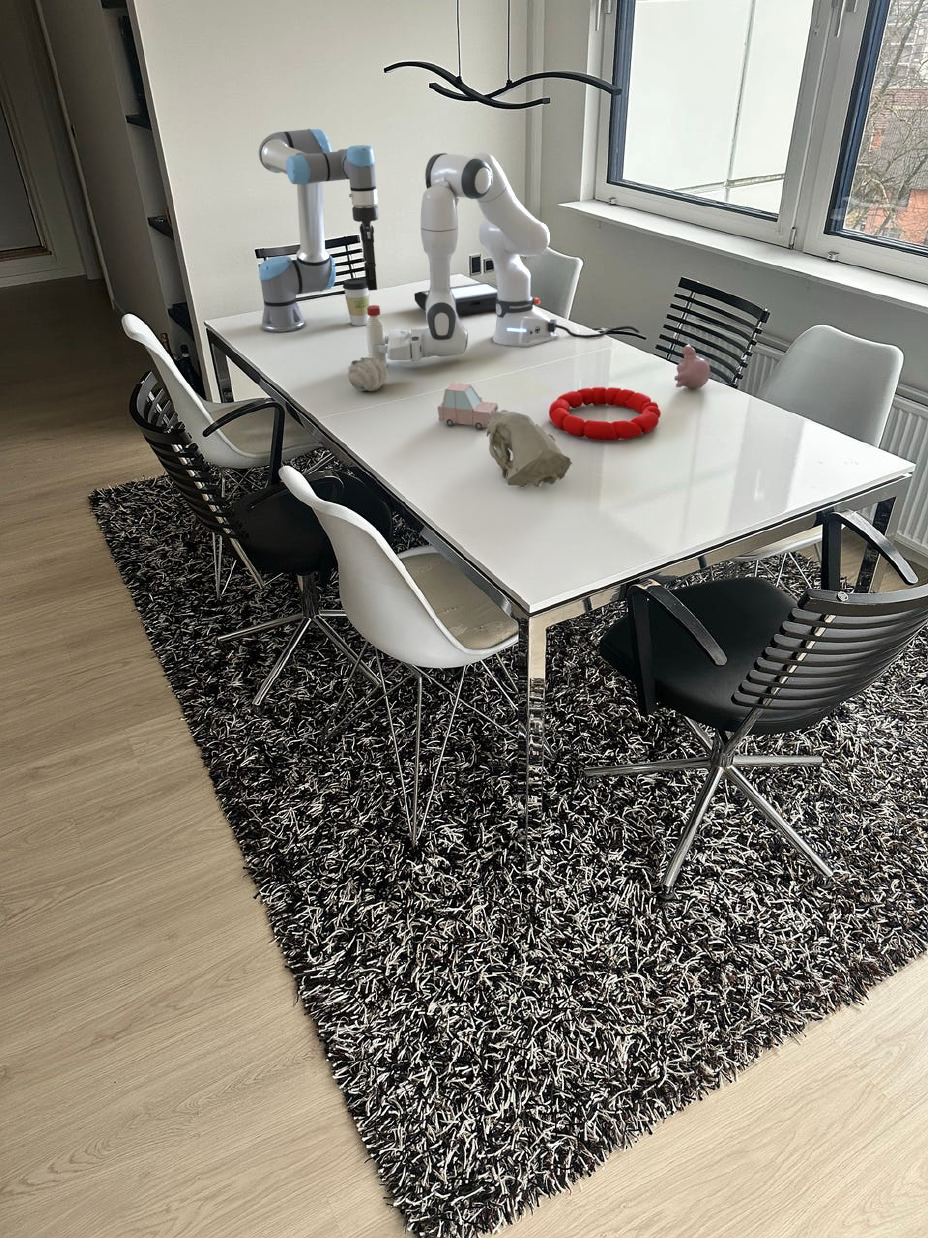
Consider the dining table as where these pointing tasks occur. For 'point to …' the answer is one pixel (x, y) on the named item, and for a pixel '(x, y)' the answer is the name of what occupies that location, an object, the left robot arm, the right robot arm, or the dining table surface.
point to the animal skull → (525, 450)
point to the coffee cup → (357, 300)
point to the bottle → (375, 337)
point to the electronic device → (468, 298)
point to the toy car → (465, 406)
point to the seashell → (367, 374)
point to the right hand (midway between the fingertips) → (373, 344)
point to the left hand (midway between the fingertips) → (371, 286)
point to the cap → (373, 310)
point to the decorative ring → (604, 428)
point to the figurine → (692, 370)
